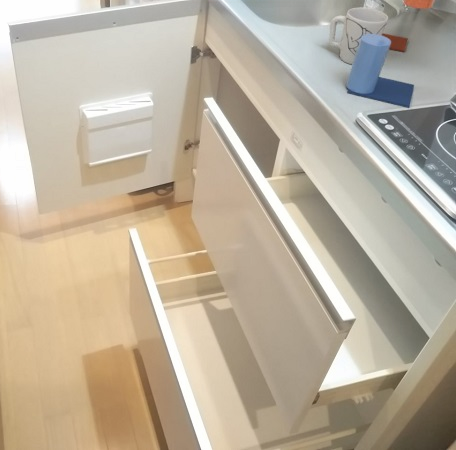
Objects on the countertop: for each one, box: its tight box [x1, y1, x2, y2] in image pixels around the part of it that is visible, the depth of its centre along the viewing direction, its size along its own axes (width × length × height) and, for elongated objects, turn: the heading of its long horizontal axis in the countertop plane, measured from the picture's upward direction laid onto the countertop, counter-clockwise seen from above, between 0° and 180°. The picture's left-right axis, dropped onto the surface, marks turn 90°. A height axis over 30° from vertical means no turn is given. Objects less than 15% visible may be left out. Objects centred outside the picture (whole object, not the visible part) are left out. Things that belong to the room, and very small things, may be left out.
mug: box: [328, 6, 389, 65], centre depth 114 cm, size 11×8×10 cm
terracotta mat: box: [382, 32, 409, 53], centre depth 125 cm, size 10×8×1 cm
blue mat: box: [346, 76, 415, 109], centre depth 106 cm, size 12×10×1 cm
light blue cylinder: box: [345, 34, 391, 94], centre depth 102 cm, size 6×6×10 cm
